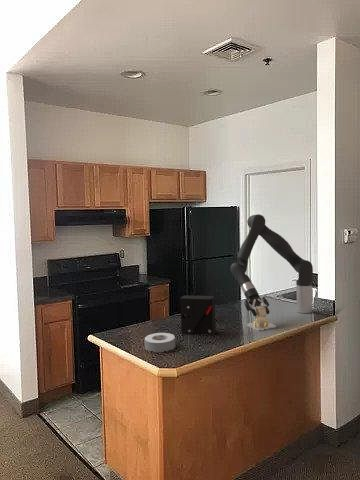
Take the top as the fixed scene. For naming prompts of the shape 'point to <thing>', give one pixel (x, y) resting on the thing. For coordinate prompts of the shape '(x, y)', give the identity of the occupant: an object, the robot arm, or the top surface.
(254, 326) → the plate
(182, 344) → the top surface
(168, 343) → the tape roll
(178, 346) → the top surface
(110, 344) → the top surface
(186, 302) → the electrical component
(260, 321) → the block
